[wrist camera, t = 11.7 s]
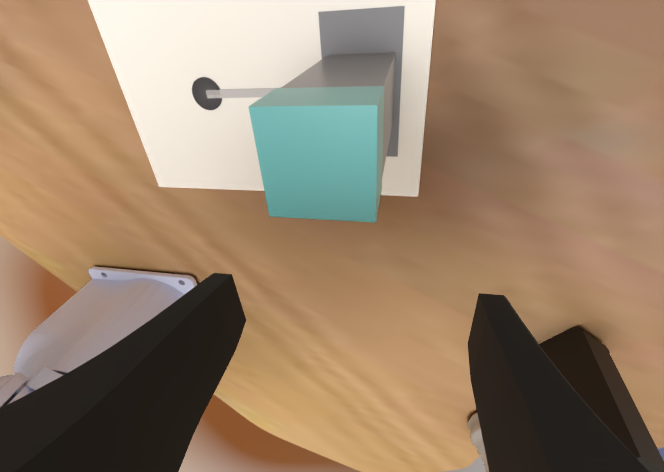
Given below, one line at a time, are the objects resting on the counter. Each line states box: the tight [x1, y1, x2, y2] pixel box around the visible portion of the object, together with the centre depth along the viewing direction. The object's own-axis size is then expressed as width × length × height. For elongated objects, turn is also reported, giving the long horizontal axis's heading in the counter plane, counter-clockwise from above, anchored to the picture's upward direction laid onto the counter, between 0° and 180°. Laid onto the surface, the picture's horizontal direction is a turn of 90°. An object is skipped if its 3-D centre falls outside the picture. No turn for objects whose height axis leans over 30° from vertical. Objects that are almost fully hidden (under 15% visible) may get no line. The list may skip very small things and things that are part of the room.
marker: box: [249, 52, 396, 223], centre depth 12 cm, size 3×3×9 cm
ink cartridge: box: [539, 328, 664, 472], centre depth 20 cm, size 5×2×8 cm, turn 147°
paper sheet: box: [88, 0, 436, 197], centre depth 17 cm, size 16×11×1 cm
